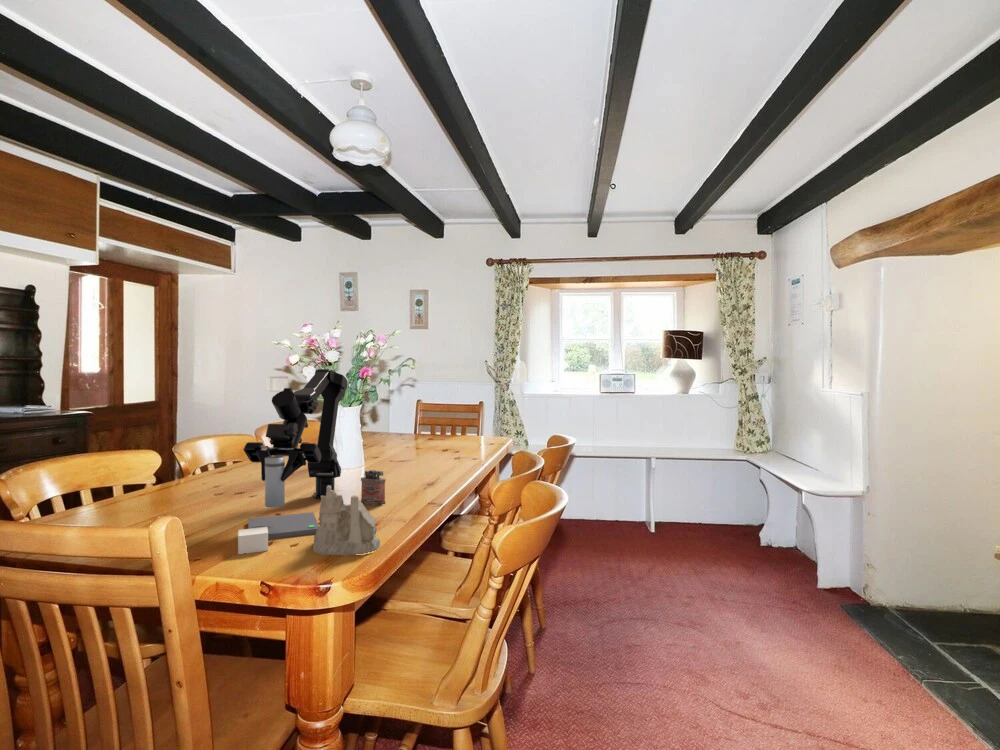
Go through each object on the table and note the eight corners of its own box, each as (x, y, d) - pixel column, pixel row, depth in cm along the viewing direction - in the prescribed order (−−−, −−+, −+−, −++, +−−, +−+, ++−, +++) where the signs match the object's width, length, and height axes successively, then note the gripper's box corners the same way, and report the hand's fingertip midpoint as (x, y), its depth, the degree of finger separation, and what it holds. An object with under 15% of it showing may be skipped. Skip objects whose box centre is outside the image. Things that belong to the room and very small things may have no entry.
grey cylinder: (261, 505, 135) (261, 457, 135) (278, 501, 139) (278, 455, 139) (271, 508, 133) (271, 460, 132) (288, 504, 136) (288, 457, 136)
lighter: (358, 503, 161) (358, 470, 161) (364, 500, 164) (365, 468, 164) (381, 505, 158) (381, 472, 158) (387, 503, 162) (387, 470, 161)
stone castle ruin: (369, 557, 115) (369, 487, 116) (298, 555, 118) (298, 487, 119) (394, 539, 131) (394, 477, 131) (331, 538, 133) (331, 477, 134)
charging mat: (239, 524, 139) (239, 508, 139) (313, 516, 147) (313, 501, 146) (238, 554, 117) (238, 536, 117) (324, 543, 124) (324, 526, 124)
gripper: (247, 411, 140) (223, 461, 129) (317, 412, 139) (299, 462, 128) (261, 437, 148) (240, 486, 137) (328, 438, 147) (312, 487, 136)
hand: (272, 480), depth 134 cm, fingers closed on grey cylinder, 5 cm apart
